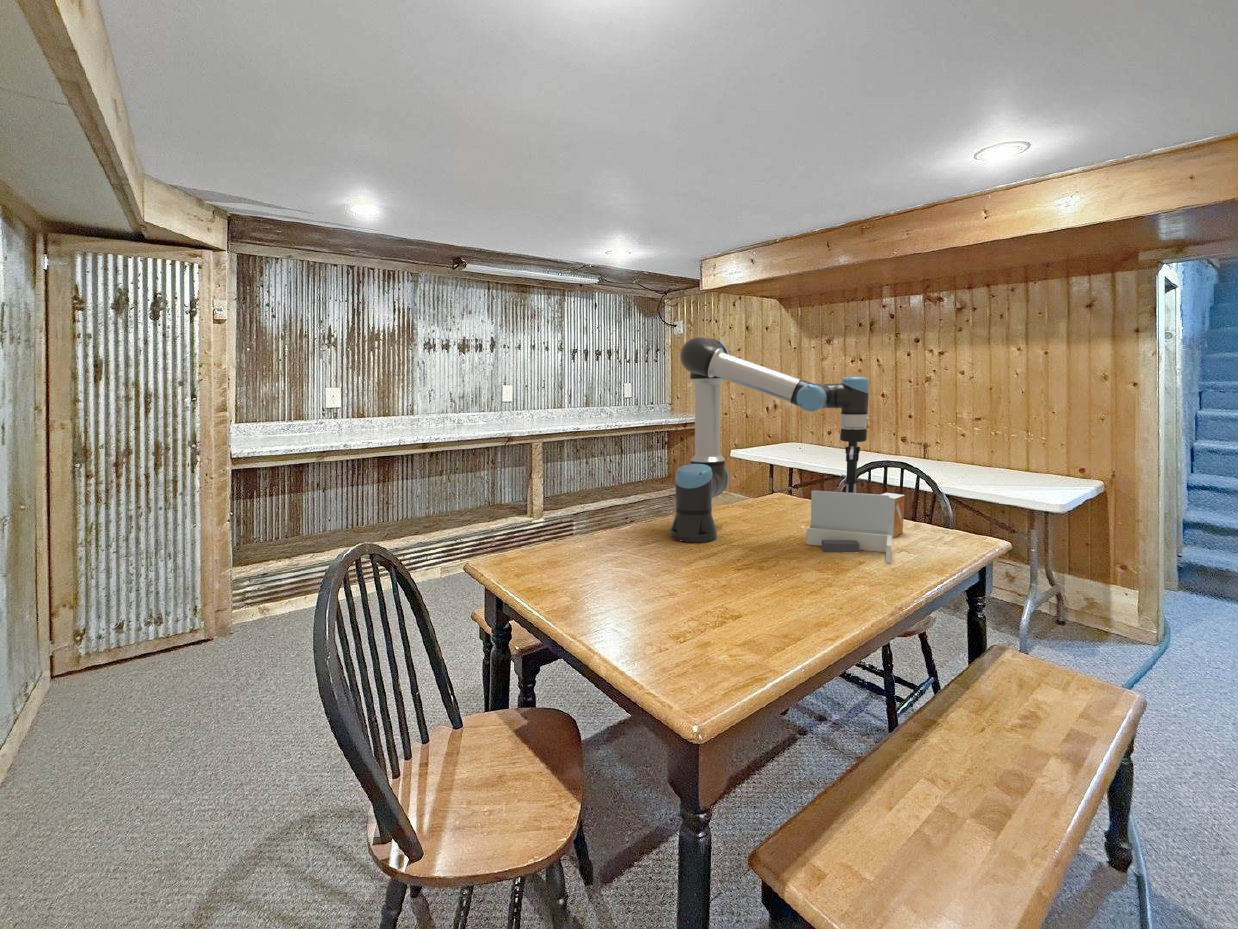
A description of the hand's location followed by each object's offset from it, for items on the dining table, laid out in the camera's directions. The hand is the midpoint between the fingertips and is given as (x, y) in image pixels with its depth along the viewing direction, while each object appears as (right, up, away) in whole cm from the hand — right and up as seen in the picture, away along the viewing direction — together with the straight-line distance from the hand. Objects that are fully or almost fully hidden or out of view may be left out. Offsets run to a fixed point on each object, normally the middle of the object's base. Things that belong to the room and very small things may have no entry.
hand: (850, 504), depth 181 cm
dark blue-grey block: (-5, -14, -6) cm, 16 cm away
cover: (-3, -2, -6) cm, 8 cm away
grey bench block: (-4, -14, -7) cm, 16 cm away
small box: (+17, -11, +11) cm, 23 cm away
